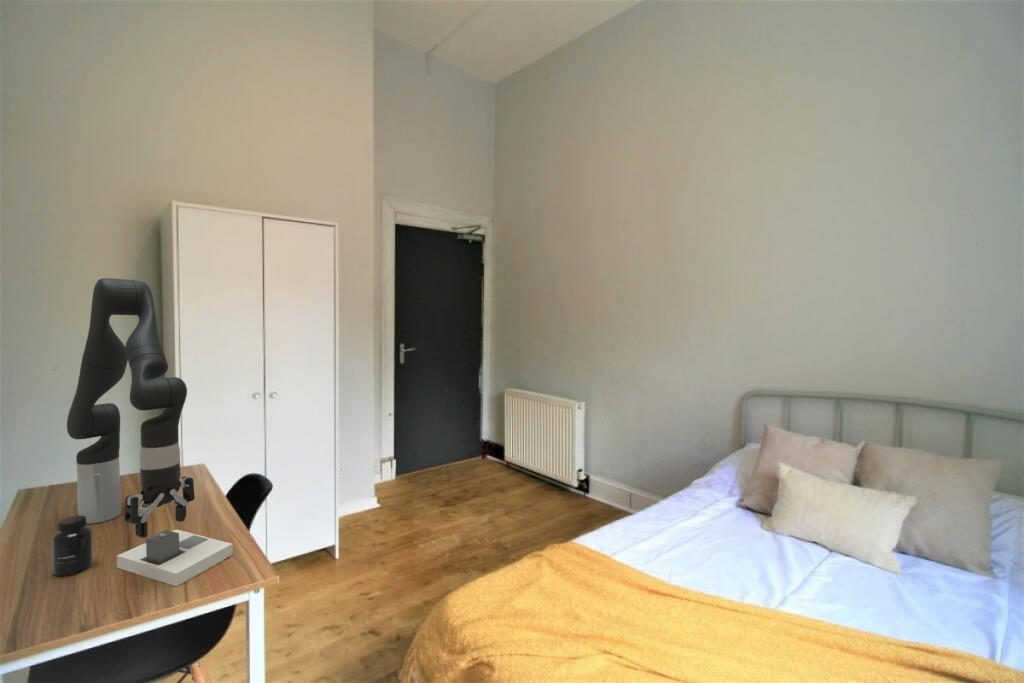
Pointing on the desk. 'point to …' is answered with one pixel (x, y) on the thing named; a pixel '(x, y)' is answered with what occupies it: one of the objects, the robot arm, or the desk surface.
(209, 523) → the desk surface
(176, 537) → the charger
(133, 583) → the desk surface
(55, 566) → the supplement bottle
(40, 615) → the desk surface
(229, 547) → the outlet plate
